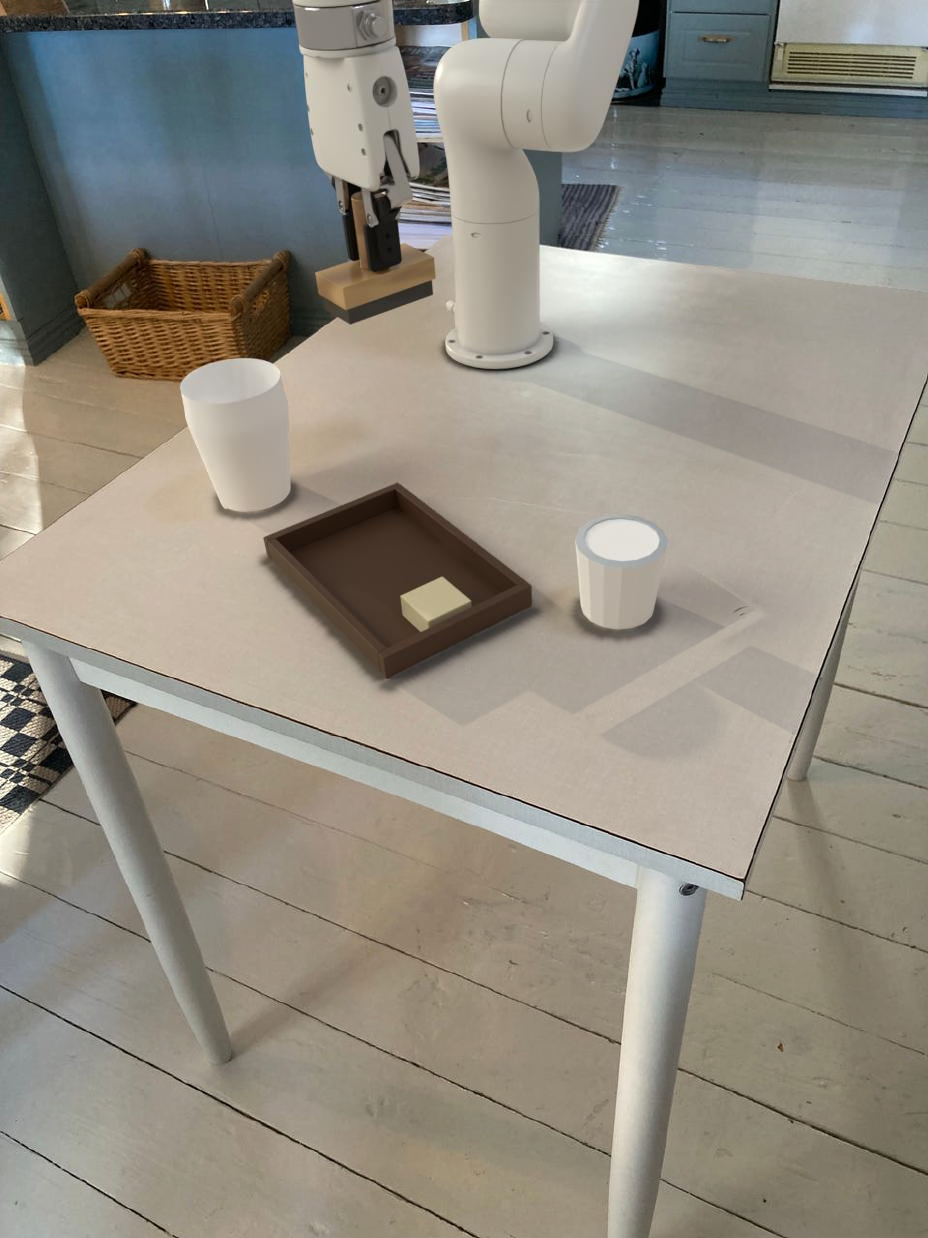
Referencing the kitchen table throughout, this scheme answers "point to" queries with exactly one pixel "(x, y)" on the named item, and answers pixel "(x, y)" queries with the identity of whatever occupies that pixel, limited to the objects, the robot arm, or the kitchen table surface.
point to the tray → (393, 575)
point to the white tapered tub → (619, 569)
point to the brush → (374, 278)
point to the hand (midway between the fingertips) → (374, 259)
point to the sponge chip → (433, 603)
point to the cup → (241, 430)
